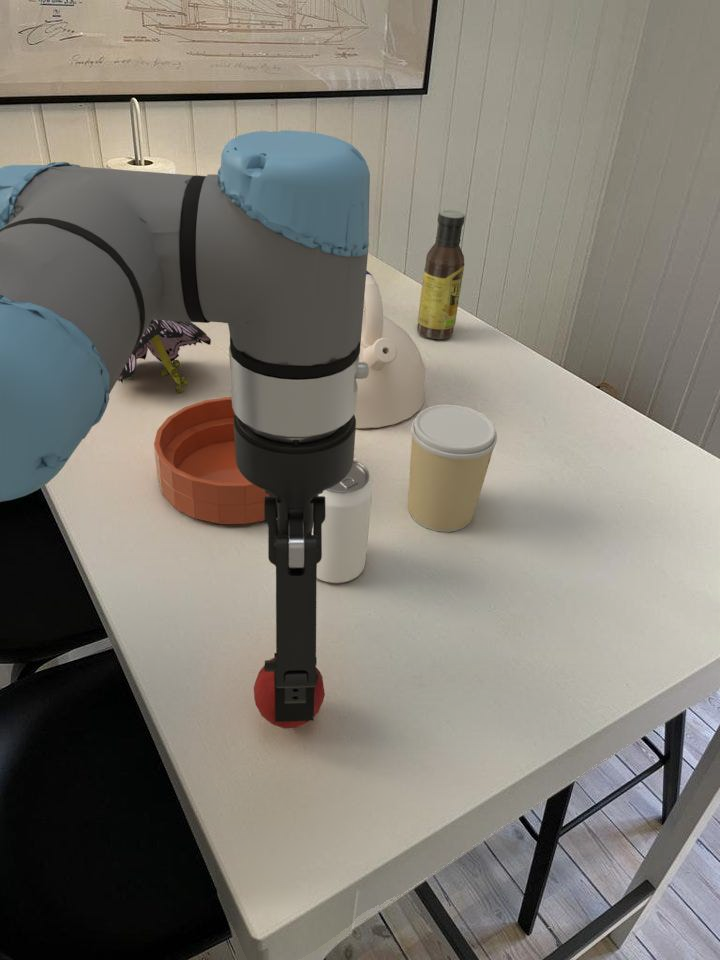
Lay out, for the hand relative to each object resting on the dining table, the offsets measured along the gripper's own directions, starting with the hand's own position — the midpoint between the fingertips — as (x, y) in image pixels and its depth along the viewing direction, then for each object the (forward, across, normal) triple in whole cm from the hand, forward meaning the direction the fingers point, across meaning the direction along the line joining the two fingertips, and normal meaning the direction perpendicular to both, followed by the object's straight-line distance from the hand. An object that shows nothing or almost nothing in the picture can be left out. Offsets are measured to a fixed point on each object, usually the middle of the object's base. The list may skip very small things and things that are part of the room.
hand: (293, 643), depth 59 cm
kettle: (+10, +55, -10) cm, 57 cm away
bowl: (+10, +34, +6) cm, 36 cm away
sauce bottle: (+10, +75, -25) cm, 80 cm away
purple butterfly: (+10, +57, +18) cm, 61 cm away
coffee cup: (+10, +28, -18) cm, 35 cm away
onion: (+10, 0, 0) cm, 10 cm away
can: (+10, +19, -5) cm, 22 cm away
